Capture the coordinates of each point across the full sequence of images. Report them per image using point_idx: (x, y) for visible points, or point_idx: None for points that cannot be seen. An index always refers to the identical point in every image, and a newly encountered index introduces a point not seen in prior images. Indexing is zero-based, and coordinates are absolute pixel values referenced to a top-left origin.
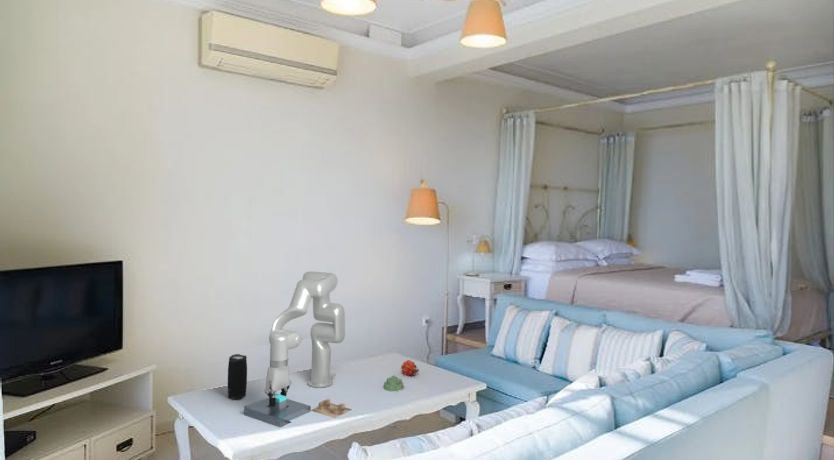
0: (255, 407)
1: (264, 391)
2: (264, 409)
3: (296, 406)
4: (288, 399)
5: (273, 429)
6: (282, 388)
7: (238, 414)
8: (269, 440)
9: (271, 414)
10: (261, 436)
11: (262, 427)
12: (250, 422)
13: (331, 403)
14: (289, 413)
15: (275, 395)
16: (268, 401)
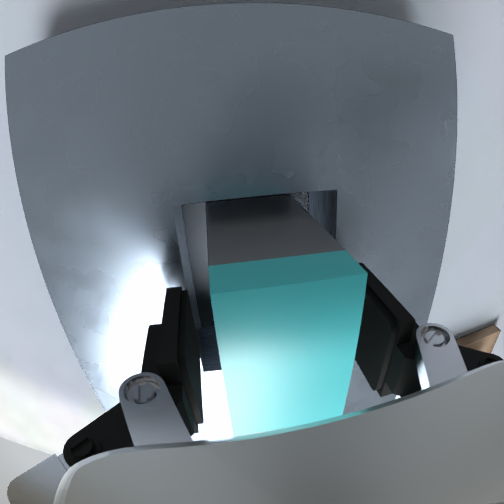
0: (64, 152)
1: (15, 494)
2: (108, 271)
3: (353, 379)
4: (444, 220)
5: (92, 405)
6: (436, 378)
7: (22, 34)
8: (46, 444)
9: (110, 387)
10: (23, 410)
11: (49, 355)
12: (10, 243)
13: (493, 346)
14: (225, 435)
15: (293, 328)
16: (298, 96)
